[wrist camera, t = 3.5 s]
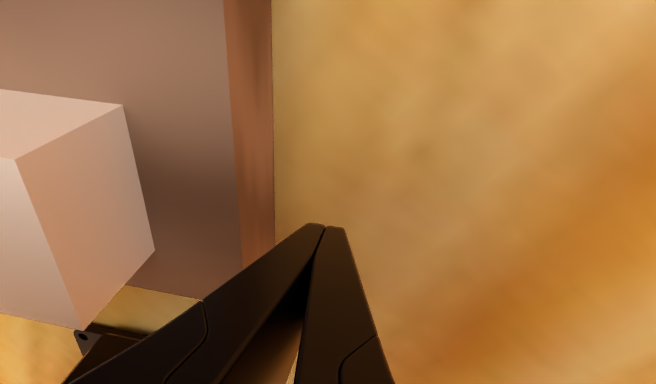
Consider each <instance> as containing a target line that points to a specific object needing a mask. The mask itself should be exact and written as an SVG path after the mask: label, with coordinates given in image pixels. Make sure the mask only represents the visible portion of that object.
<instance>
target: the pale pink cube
mask: <svg viewBox="0 0 656 384" xmlns="http://www.w3.org/2000/svg"><path fill="white" fill-rule="evenodd" d="M154 251H155V248H154V243H153V239H152V234H151V230H150V225H149V221H148V216H147V212H146V207H145V203H144V198H143V194H142V189H141V185H140V181H139V176H138V172H137V167H136V163H135V158H134V154H133V149H132V145H131V140H130V136H129V131H128V127H127V122H126V118H125V113H124V109H123V105H120V104H112V103H104V102H97V101H89V100H81V99H74V98H66V97H58V96H51V95H43V94H35V93H28V92H20V91H12V90H5V89H0V313H3V314H7V315H12V316H17V317H21V318H26V319H30V320H35V321H39V322H44V323H49V324H53V325H58V326H62V327H67V328H72V329H76V330H81V331H84V330H85V329H86V328H87V326H88V325H89V324H90V323H91V322H92V321H93V320H94V319H95V317H96V316H97V315H98V314H99V313H100V312H101V311H102V310H103V308H104V307H105V306H106V305H107V304H108V303H109V302H110V301H111V299H112V298H113V297H114V296H115V295H116V294H117V293H118V292H119V290H120V289H121V288H122V287H123V286H124V285H125V284H126V283H127V281H128V280H129V279H130V278H131V277H132V276H133V275H134V274H135V272H136V271H137V270H138V269H139V268H140V267H141V266H142V265H143V263H144V262H145V261H146V260H147V259H148V258H149V257H150V256H151V254H152V253H153V252H154Z"/></svg>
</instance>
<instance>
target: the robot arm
mask: <svg viewBox="0 0 656 384" xmlns="http://www.w3.org/2000/svg"><path fill="white" fill-rule="evenodd" d="M202 301H203V302H202ZM202 301H199V302H198V303H196V304H195V305H193V306H192V307H191V308H189V309H188V310H187V311H185V312H184V313H182V314H181V315H179V316H178V317H176V318H175V319H174V320H172V321H171V322H169V323H168V324H166V325H165V326H163V327H162V328H160V329H159V330H157V331H155V332H154V333H152V334H151V335H149V336H147V337H146V336H141V335H136V334H132V333H127V332H122V331H118V330H113V329H108V328H104V327H99V326H94V325H90V324H89V325H88V326H87V328H86V329H85V330H84V331H81V330H75V331H74V336H75V339H76V341H77V343H78V346H79V348H80V350H81V353H82V355H83V358H82V359H81V360H80V361H79V363H78V364H77V365H76V366H75V367H74V369H73V370H72V371H71V372H70V373H69V375H68V376H67V377H66V378H65V379H64V381H63V382H62V383H61V384H286V381H287V379H288V376H289V373H290V371H291V368H292V365H293V363H294V360H295V357H296V355H297V352H298V349H299V352H298V358H297V365H296V371H295V378H294V384H395V382H394V379H393V377H392V374H391V372H390V369H389V366H388V363H387V360H386V358H385V355H384V352H383V349H382V346H381V342H380V339H379V337H378V334H377V330H376V327H375V324H374V321H373V318H372V314H371V311H370V308H369V305H368V302H367V299H366V295H365V292H364V289H363V286H362V283H361V280H360V276H359V273H358V270H357V267H356V264H355V260H354V257H353V254H352V251H351V248H350V245H349V241H348V238H347V235H346V232H345V230H344V228H341V227H334V226H327V227H325V225H322V224H316V223H307V224H305V225H304V226H303V227H301V228H300V229H299V230H297V231H296V232H294V233H293V234H292V235H290V236H289V237H288V238H286V239H285V240H283V241H282V242H281V243H279V244H278V245H276V246H275V247H274V248H272V249H271V250H270V251H268V252H267V253H265V254H264V255H263V256H261V257H260V258H259V259H257V260H256V261H254V262H253V263H252V264H250V265H249V266H248V267H246V268H245V269H243V270H242V271H241V272H239V273H238V274H236V275H235V276H234V277H232V278H231V279H230V280H228V281H227V282H225V283H224V284H223V285H221V286H220V287H219V288H217V289H216V290H214V291H213V292H212V293H210V294H209V295H207V296H206V297H205V298H203V300H202Z"/></svg>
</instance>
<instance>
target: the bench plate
mask: <svg viewBox="0 0 656 384" xmlns="http://www.w3.org/2000/svg"><path fill="white" fill-rule="evenodd" d="M0 89H5V90H12V91H20V92H28V93H35V94H43V95H51V96H58V97H66V98H74V99H81V100H89V101H97V102H104V103H112V104H120V105H123V109H124V113H125V118H126V122H127V127H128V131H129V136H130V140H131V145H132V149H133V154H134V158H135V163H136V167H137V172H138V176H139V181H140V185H141V189H142V194H143V198H144V203H145V207H146V212H147V216H148V221H149V225H150V230H151V234H152V239H153V243H154V248H155V251H154V252H153V253H152V254H151V256H150V257H149V258H148V259H147V260H146V261H145V262H144V263H143V265H142V266H141V267H140V268H139V269H138V270H137V271H136V272H135V274H134V275H133V276H132V277H131V278H130V279H129V280H128V281H127V283H126V284H125V285H129V286H134V287H139V288H144V289H149V290H155V291H160V292H165V293H170V294H175V295H180V296H185V297H190V298H195V299H200V300H203V298H205V297H206V296H207V295H209V294H210V293H212V292H213V291H214V290H216V289H217V288H219V287H220V286H221V285H223V284H224V283H225V282H227V281H228V280H230V279H231V278H232V277H234V276H235V275H236V274H238V273H239V272H241V271H242V270H243V269H245V268H246V267H248V266H249V265H250V264H252V263H253V262H254V261H256V260H257V259H259V258H260V257H261V256H263V255H264V254H265V253H267V252H268V251H270V250H271V249H272V248H274V247H275V218H274V159H273V99H272V40H271V0H0Z"/></svg>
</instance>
